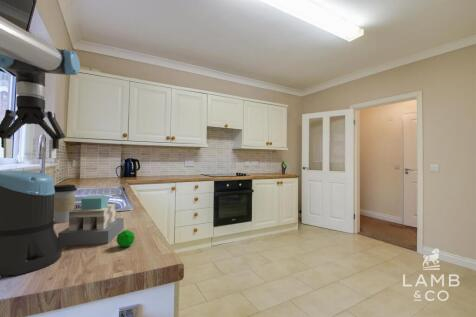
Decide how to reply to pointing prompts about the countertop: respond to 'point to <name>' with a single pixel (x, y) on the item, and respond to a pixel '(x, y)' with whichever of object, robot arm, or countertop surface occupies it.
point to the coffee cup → (63, 202)
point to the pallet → (92, 218)
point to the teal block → (94, 202)
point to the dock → (91, 234)
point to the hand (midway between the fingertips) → (30, 158)
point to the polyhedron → (125, 238)
